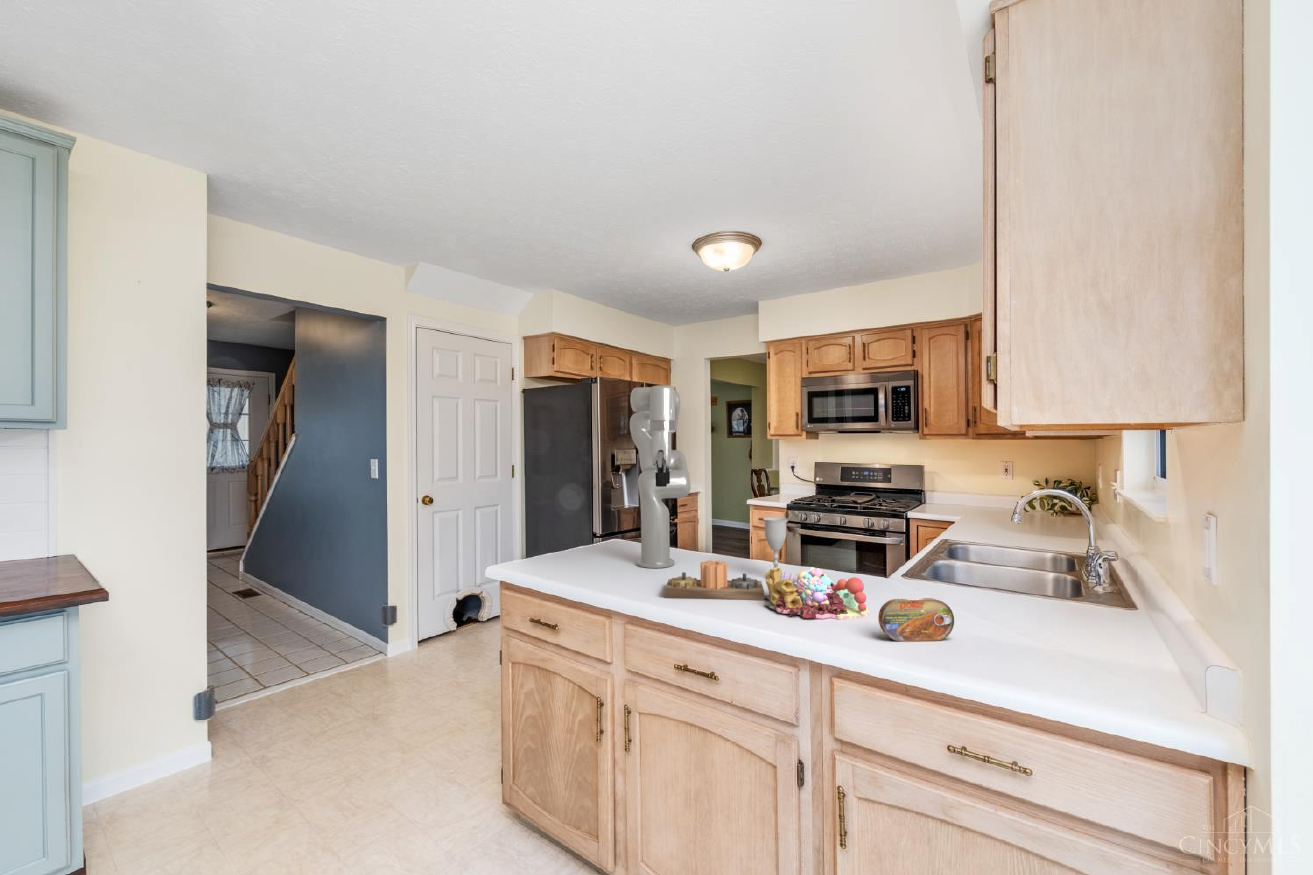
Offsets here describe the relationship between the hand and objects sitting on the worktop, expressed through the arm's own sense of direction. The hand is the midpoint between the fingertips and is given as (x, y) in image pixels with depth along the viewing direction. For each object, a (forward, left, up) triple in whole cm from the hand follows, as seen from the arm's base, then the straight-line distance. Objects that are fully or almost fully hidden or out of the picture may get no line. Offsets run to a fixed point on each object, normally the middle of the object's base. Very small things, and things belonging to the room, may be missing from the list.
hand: (662, 485), depth 168 cm
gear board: (+12, +15, -28) cm, 34 cm away
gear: (+12, +15, -26) cm, 32 cm away
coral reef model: (+21, +40, -29) cm, 54 cm away
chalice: (-4, +33, -28) cm, 44 cm away
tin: (+44, +57, -29) cm, 77 cm away
